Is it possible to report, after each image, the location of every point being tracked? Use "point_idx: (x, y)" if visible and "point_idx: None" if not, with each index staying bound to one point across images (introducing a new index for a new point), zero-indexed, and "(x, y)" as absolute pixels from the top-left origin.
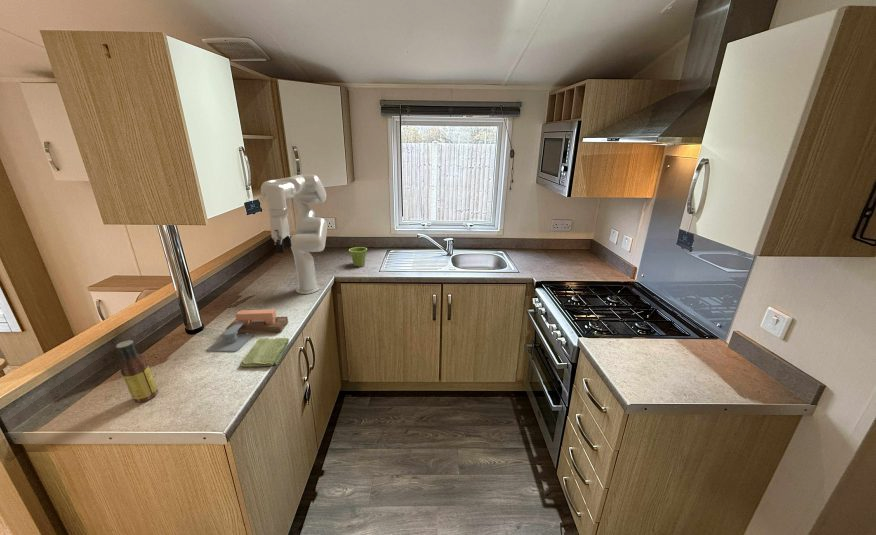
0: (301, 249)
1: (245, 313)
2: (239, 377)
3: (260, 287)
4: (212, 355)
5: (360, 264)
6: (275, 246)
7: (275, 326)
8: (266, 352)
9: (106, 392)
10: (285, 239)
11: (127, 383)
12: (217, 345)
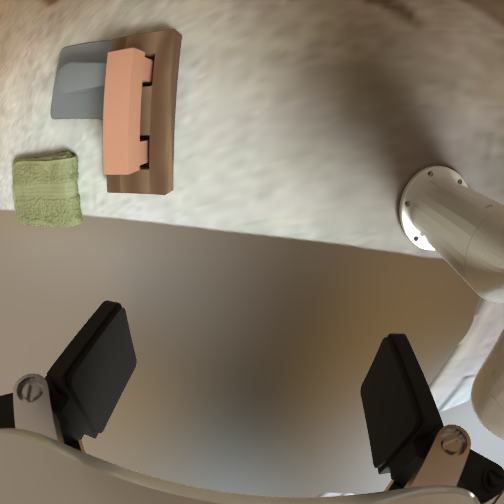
0: None
1: (107, 82)
2: (3, 173)
3: (477, 43)
4: (47, 75)
5: None
6: (62, 354)
7: (107, 179)
8: (29, 201)
9: (7, 4)
10: (399, 438)
11: None
12: (73, 59)
